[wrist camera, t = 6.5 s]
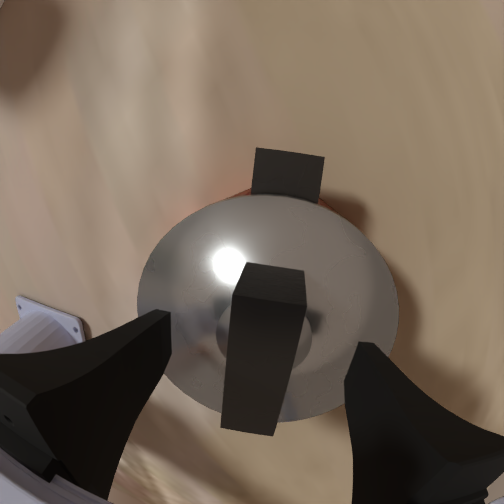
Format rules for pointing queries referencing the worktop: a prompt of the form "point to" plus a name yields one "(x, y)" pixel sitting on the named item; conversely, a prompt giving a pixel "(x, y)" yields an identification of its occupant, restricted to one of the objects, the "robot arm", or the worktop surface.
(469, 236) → the worktop surface
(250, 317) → the lid
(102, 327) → the worktop surface
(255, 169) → the pot
